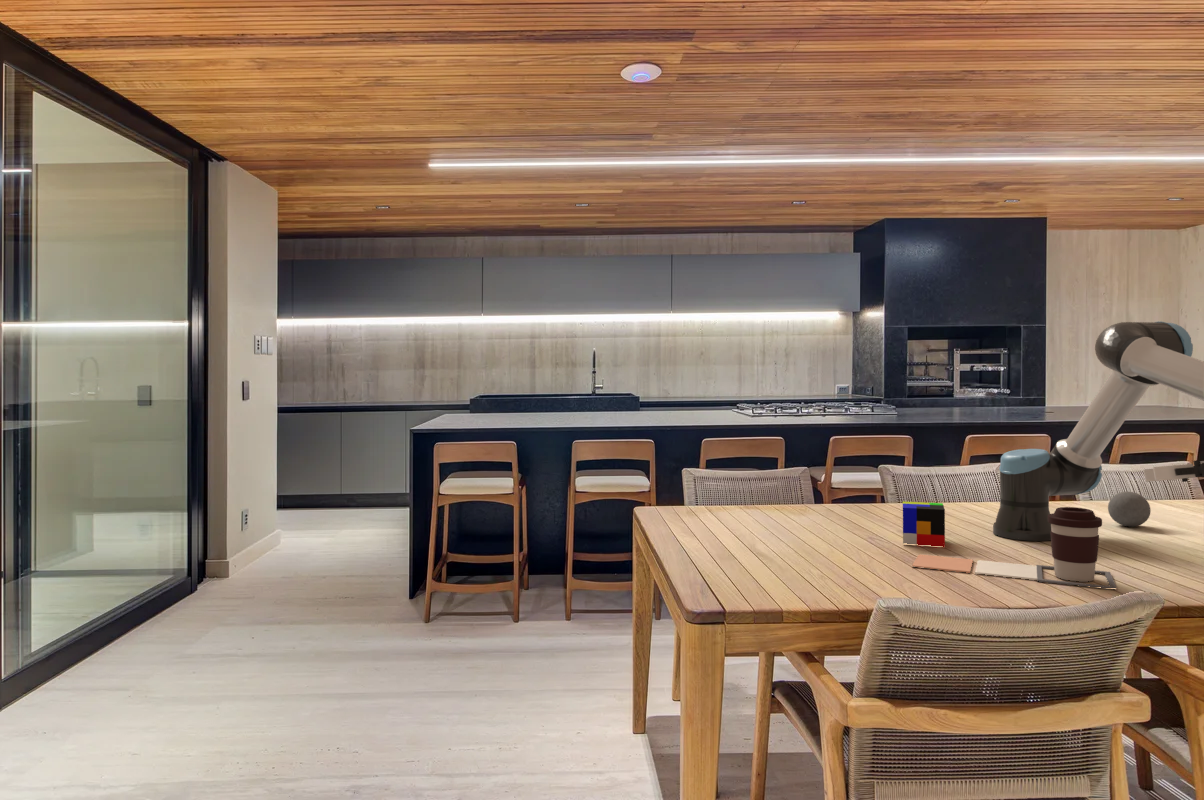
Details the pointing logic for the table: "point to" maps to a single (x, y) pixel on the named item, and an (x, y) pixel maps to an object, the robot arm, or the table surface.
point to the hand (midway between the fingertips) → (1149, 474)
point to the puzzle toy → (924, 523)
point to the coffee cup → (1074, 543)
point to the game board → (997, 569)
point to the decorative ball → (1129, 509)
